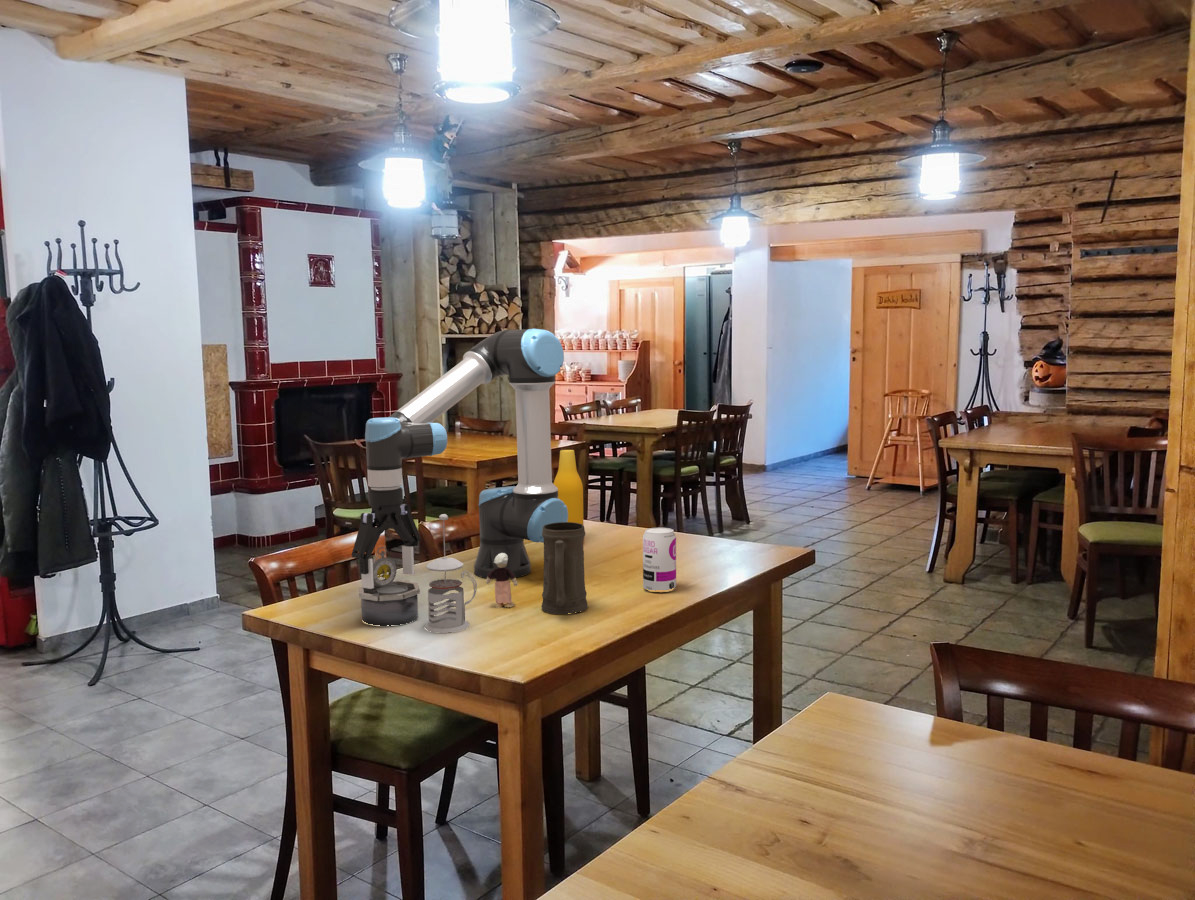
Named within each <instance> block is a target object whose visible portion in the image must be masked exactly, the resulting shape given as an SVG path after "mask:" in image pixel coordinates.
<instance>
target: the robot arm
mask: <svg viewBox="0 0 1195 900" xmlns="http://www.w3.org/2000/svg"><path fill="white" fill-rule="evenodd" d="M564 361H565V355H564V348H563V345H562V343H561V341H560V340H559V338H558V337H557V336H556V335H555V334H554V333H553V332H551V331H549V330H547V329H542V328H541V329H540V328H529V329H528V328H526V329H503V330H500V331H497V332H495V333H493V334H491V335H489V336H488V337H486V338H484V339H483V340H481V341H479V342H478V343H477V344H475V346H473V347H472V348H470V349H469V350H468V351H466V352H465V353H464V354H463V356H462V360H461V361H460V362H458V363H457V364H456V365H455V366H454V367H452V368H451V369H450V370H448V371H447V372H446V373H444V374H443V375H441V376H440V377H439V378H437V379H436V380H435V381H434V382H433V383H431V384H430V385H428V386H427V387H426V388H425V389H423V390H421V392H420V393H418V394H417V395H416V396H415V397H413V398H412V399H410V400H409V401H408V402H406V403H405V404H404V405H403V406H401V407H400V408H399V409H398V410H396V411H395V412H393V413H392V414H391V415H389V416H388V417H387V416H386V417H373V418H369V419H368V420H367V421H366V423H365V433H364V440H365V448H366V449H365V450H366V466H367V467H366V469H367V471H366V472H367V486H368V488H369V489H368V490H367V499H368V501H367V503H368V505H369V506H370V507H371V512H370V513H368V512H367V513H365V512H362V513H361V514H360V524H359V528H358V531H357V534H356V538H355V541H354V544H353V549H352V551H351V557H352V558H355V559H358V560H359V573H360V576H361V587H362V588H369V589H372V588H374V582H373V563H374V561H373V560H374V559H373V558H370V557H371V555H372V554H373V552H374V549H375V547H376V546H377V542H378V541H379V538H380V536H381V534H383V533H384V532H385V531H386V530H390V529H393V530H394V531H395V532H396V534H397V536H398V537H399V538H400V540H401V541H402V542H403V544H404V545H402V546H401V552H402V553H401V556H402V574H403V575H409V576H413V575H415V562H414V561H415V560H414V559H415V556H416V555H415V547H418V545H419V542H420V541H421V539H422V538H421V535H420V533H419V530H418V528H417V527H418V526H417V524H416V523H415V520H414V516H413V514H412V511H411V505H410V504H408V503H407V504H406V503H403V502H404V497H403V495H404V491H403V488H402V487H401V486H402V485H403V467H402V466H403V464H402V463H403V460H404V459H409V458H410V459H411V458H419V457H420V458H421V457H433V456H437V455H440V454H442V453H444V451H446V448H447V445H448V434H447V430H446V428H445V427H444V426H443V425H442V424H441V423H439V422H434V421H436V420H437V419H438V418H441V416H442V415H443V414H444V413H446V412H447V411H448V410H449V409H451V408H452V407H453V406H455V405H456V404H457V403H459V402H460V401H461V400H462V399H464V398H465V397H466V396H468V395H469V394H470V393H471V392H473V391H474V390H475V389H477V388H478V387H479V386H480V385H488V384H489V383H491V382H492V381H493V380H494V379H497V378H500V377H503V376H508V384H509V385H510V386H511V387H512V388H513V389H514V390H515V391H514V393H515V416H516V417H515V418H516V419H515V421H516V448H517V452H516V453H517V454H516V455H517V477H518V479H517V480H518V483H517V485H516V486H515V485H513V486H512V485H511V486H510V485H509V486H501V487H493V488H486V489H483V490H482V491H481V492H480V493H479V497H478V518H479V522H478V523H479V541H480V542H479V544H480V545H479V548H478V552H477V554H476V558H475V561H474V565H473V566H474V567H473V570H474V575H475V576H477V577H481V578H484V579H487V577H488V576H487V575H488V574H489V573H490V572H491V571H492V570H494V569H497V568H499V567H498V566H497V564H495V563H493V562H494V559H495V558H496V556H497V555H498V554H500V553H505V554H506V555H507V556H508V562H507V566H506V567H505V568H506V569H509V570H511V571H512V572H513V574H514V575H515V578H519V577H520V578H521V577H523V576H526V575H528V574H530V573H531V572H532V565H531V560H530V558H529V554H528V552H527V549H526V546H525V542H524V541H526V540H527V541H530V542H533V543H536V544H537V543H543V544H544V538H543V536H542V531H543V526H544V525H547V524H551V523H558V522H567V520H568V510H567V507H566V505H565V504H564V502H563V501H561V500H560V499H558V488H557V487H556V486H555V485H554V484H553V483H554V482H553V477H552V476H553V475H552V472H553V471H552V445H551V444H552V439H551V436H552V435H551V410H550V408H551V407H550V404H551V403H550V402H551V401H550V388H551V387H552V386H553V385H555V383H556V375H557V374H559V372H560V371H561V368H562V367H563V365H564ZM508 578H509V577H508ZM494 579H495V580H496V578H494ZM509 579H510V578H509Z"/></svg>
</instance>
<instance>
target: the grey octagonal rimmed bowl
mask: <svg viewBox="0 0 1195 900" xmlns="http://www.w3.org/2000/svg"><path fill="white" fill-rule="evenodd" d="M392 585H401V586H405V587H407V588H408V590H407V592H405V593H402V594H392V595H380V594H378V592H377V590H378V589H379V588H380V587H378V586H376V585H375V584H374V588H372V589H369V588H362V586H360V587H358V596H359V599H360V603H361V621H362V620H363V621H364V622H366V623H368V624H373V625H380V626H387V625H389V626H390V627H392V626H391V625H399V626H401V625H400V624H404V625H407V624H406V623H408V624H410V622H411V623H413V622H415V621H416V620H418V618H419V605H418V604H419V602H418V594H419V595H420V594H421V588H420V586H419V583H418V582H415V581H406V580H400V579H398V580H397V579H396V580H393V582H392V583H391V584H390V585H389V586H392ZM414 620H415V621H414ZM412 621H413V622H412Z"/></svg>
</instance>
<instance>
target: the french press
mask: <svg viewBox="0 0 1195 900" xmlns="http://www.w3.org/2000/svg"><path fill="white" fill-rule="evenodd" d="M438 518H439V519H438V520H439V521H442V525H443V528H442V529H443V555H444V556H443V557H438V558H435V559H434V560H432V561H430V562H429V563H427V564H426V566H425V568H426V569H428V570H429V571H433V572H444V578H441V579H439V578H438V579H435V580H432V581H431V582H429V584H428V585H429V587H430V588H428V590H427V599H428V600H427V602H428V605H427V607H428V609H427V610H428V621H427V623H426V624H425V625H424V628H426V629H427V630H428V631H427V630H426V629H425V630H426V631H427V632H430V631H431V632H430V633H434V632H440V633H439V634H448V632H452V633H457V632H456V631H458V632H461V631H464V630H466V629H468V628H469V627H470V623H469V622H468V621H467V620H466V605H468V604H470V603H471V602H472V601H473V599H475V597H476V594H477V585H478V584H477V580H476V578H475V577H474V575H473V574H472V573H470V572H469V571H467V570H463V571H462V572H461V574H460V578H461V579H464V576H465V575H466V576H467V577H468V578H469V579H470V581H471V583H472V585H473V595H472V597H471V599H469V600H467V601H465V599H464V598H465V597H464V593H465V592H464V587H462V585H463V581H461V580H460V579H455V578H454V579H453V578H447V576H446V573H447V572H453V571H457V570H460V569H462V568H463V566H464V563H463V562H462V561H460V560H458V559H456V558H454V557H447V556H446V543H445V541H446V540H445V539H446V538H445V535H446V534H445V521H446V520H448V519H449V516H448V515H447V514H446V513H443V514H440V515H439V517H438ZM451 591H456V592H452V593H451ZM448 592H450V593H449V594H448ZM446 593H447V594H446ZM444 600H446V601H444ZM442 601H444V602H442ZM439 602H441V603H439ZM435 603H439V604H435ZM444 606H445V607H444ZM442 607H443V608H442ZM440 608H441V609H440ZM435 609H439V610H435ZM444 612H445V613H444ZM441 613H442V614H441ZM438 614H440V615H438ZM463 629H464V630H463Z"/></svg>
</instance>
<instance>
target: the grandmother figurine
mask: <svg viewBox="0 0 1195 900" xmlns="http://www.w3.org/2000/svg"><path fill="white" fill-rule="evenodd" d="M507 562H508V556H507V555H506V554H505V553H500V554H498V555H497V556H496V558H495V559H494V562H493V563H495V564H497V566H498V567H499V568H497V569H494V570H492V571H491V572H490V573H489V574H488V575H487V576H488V577H487V578H486V579H485V584H486V585H489V584H490V583H491V581H492V580H493V579H494V578H496V579H495V582H494V599H495V603H496V604H495V608H498V607H500V608H503V607H504V608H506V607H510V608H512V606H513V607H515V603H514V602H512V601H513V600H512V589H511V582H512V583H513V586H514V587H516V586H518V585H519V583H518V581H517V577H515V575H514V574H513V572H512V571H511V570H509V569H506V568H505V567H506V566H507ZM508 577H509V578H508ZM510 580H511V581H510ZM502 606H503V607H502Z"/></svg>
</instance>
